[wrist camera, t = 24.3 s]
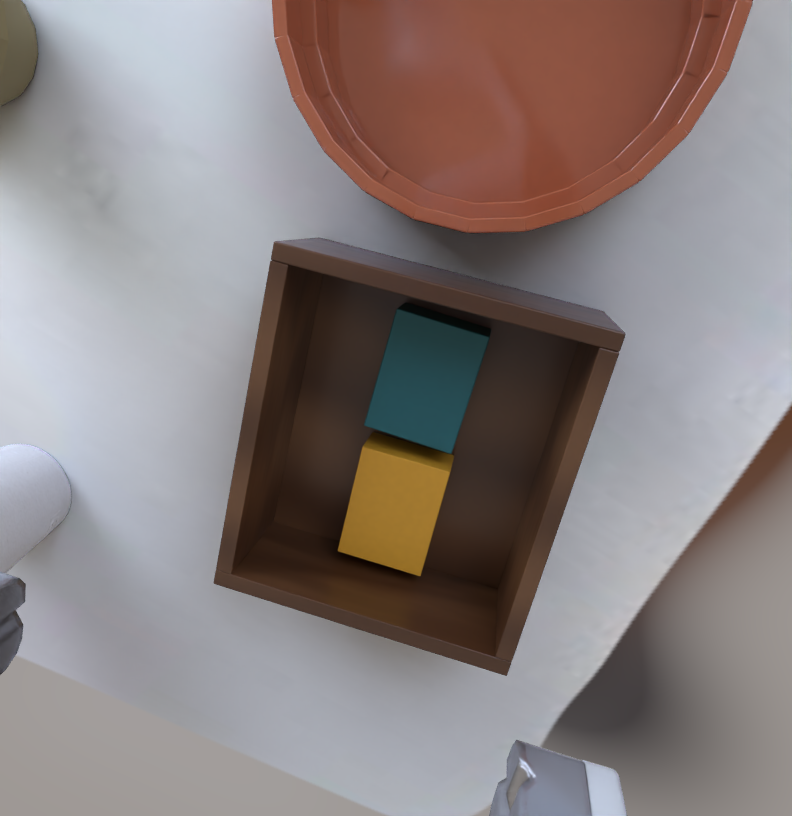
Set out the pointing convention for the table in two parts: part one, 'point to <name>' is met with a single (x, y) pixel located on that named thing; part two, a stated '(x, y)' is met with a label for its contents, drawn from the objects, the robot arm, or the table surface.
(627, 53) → the bowl
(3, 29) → the squeeze bottle
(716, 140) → the table surface
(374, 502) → the yellow rectangular block
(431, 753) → the table surface
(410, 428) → the teal sponge
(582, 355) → the holder
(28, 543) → the dixie cup
